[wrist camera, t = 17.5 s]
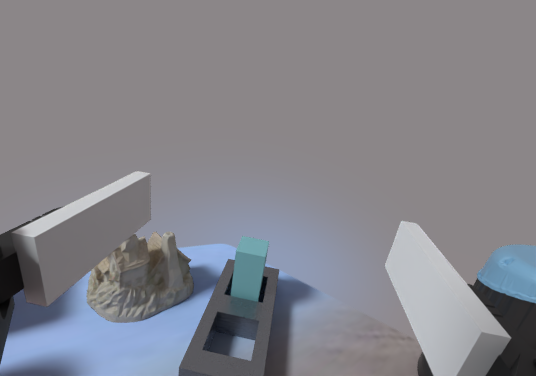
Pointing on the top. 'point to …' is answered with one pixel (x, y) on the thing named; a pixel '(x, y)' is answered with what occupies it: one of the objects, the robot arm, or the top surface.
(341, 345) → the top surface
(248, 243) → the teal peg
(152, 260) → the ceramic cottage
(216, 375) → the grey block with holes
